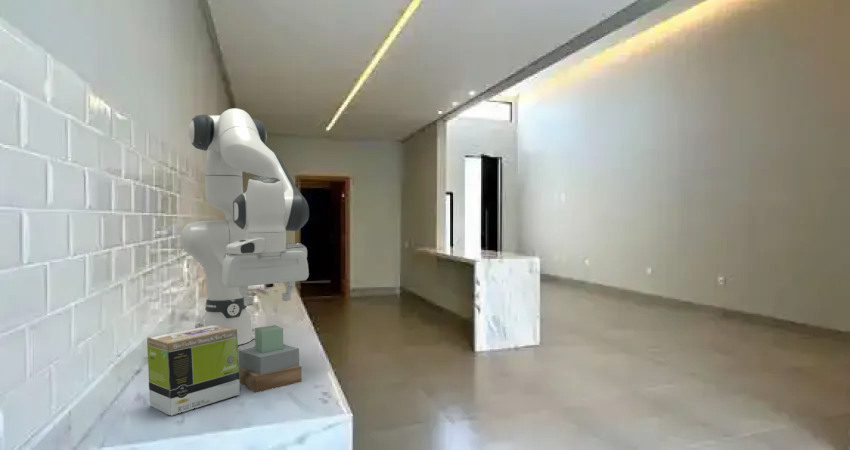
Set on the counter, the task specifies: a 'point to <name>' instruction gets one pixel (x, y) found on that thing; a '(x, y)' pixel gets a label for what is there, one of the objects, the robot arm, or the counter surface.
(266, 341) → the sage cube
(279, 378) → the walnut slab
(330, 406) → the counter surface
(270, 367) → the slate slab
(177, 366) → the tea box
